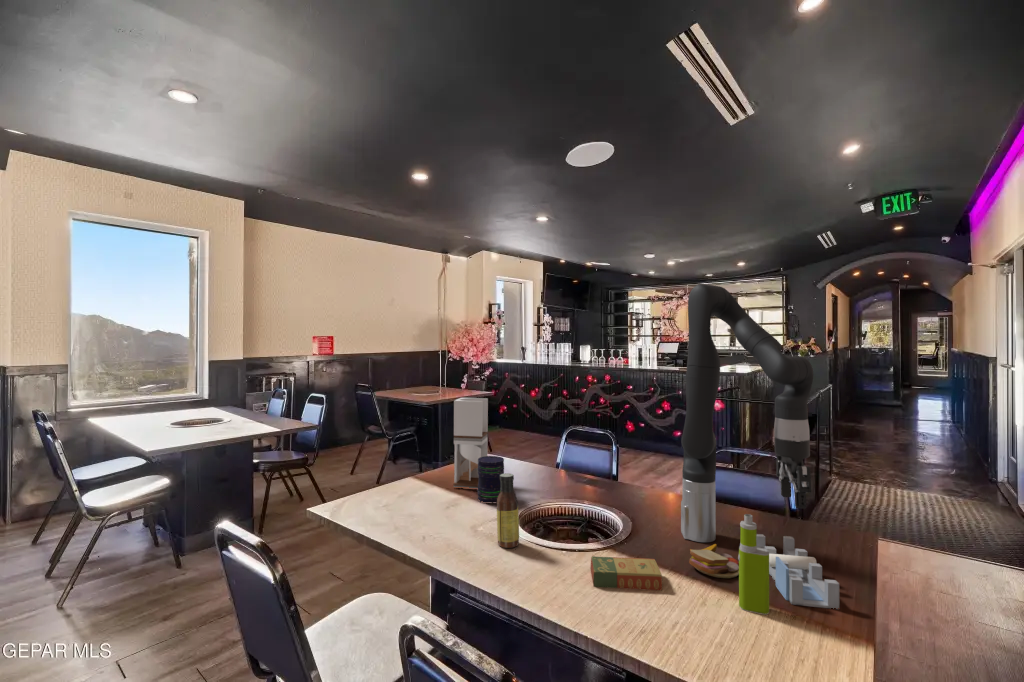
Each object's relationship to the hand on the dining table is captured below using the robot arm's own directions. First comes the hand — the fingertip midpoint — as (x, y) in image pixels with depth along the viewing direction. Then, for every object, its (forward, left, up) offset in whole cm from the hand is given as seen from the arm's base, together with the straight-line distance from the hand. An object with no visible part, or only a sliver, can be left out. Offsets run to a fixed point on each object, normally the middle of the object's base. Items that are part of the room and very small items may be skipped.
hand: (793, 502), depth 115 cm
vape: (-14, -16, -19) cm, 29 cm away
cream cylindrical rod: (-1, 0, -16) cm, 16 cm away
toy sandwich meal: (-18, +1, -19) cm, 26 cm away
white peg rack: (-1, 0, -19) cm, 19 cm away
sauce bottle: (-73, +5, -19) cm, 75 cm away
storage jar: (-87, +42, -19) cm, 98 cm away
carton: (-41, -10, -19) cm, 46 cm away
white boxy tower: (-99, +57, -19) cm, 116 cm away
